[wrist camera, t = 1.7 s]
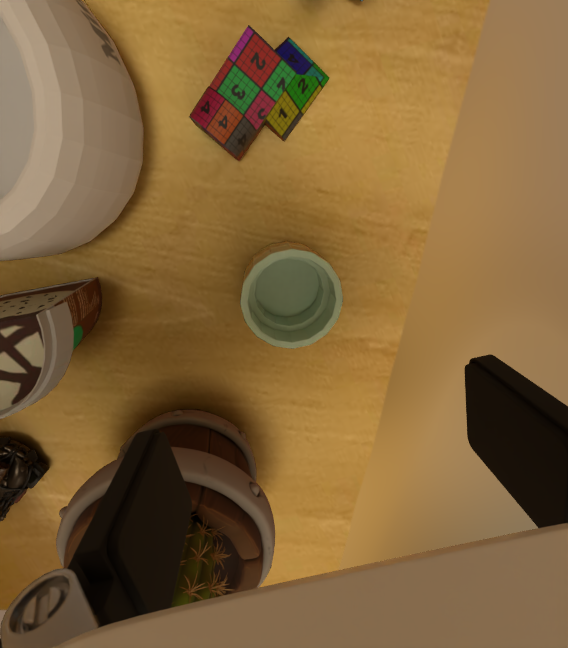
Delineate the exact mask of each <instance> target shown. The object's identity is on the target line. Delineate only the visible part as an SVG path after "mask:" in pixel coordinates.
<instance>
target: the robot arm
mask: <svg viewBox="0 0 568 648" xmlns="http://www.w3.org/2000/svg"><path fill="white" fill-rule="evenodd" d="M465 388H466V412H467V435H468V440H469V443H470V446H471V447H472V449H473V450H474V451H475V453H477V455H478V456H479V457H480V459H481V460H482V461H483V462H484V463H485V464H486V466H487V467H488V468H489V469H490V470H491V472H492V473H493V474H494V475H495V476H496V478H497V479H498V480H499V481H500V482H501V484H502V485H503V486H504V487H505V488H506V489H507V491H508V492H509V493H510V494H511V496H512V497H513V498H514V499H515V500H516V502H517V503H518V504H519V505H520V506H521V507H522V509H523V510H524V511H525V512H526V513H527V515H529V517H530V518H531V519H532V521H533V522H534V523H535V524H536V525H537V526H538V529H532V530H528V531H522V532H517V533H512V534H508V535H503V536H498V537H494V538H489V539H484V540H479V541H474V542H470V543H465V544H460V545H455V546H451V547H446V548H441V549H436V550H431V551H426V552H422V553H417V554H412V555H408V556H403V557H399V558H394V559H389V560H384V561H380V562H375V563H370V564H366V565H361V566H357V567H352V568H347V569H343V570H338V571H333V572H329V573H324V574H319V575H315V576H310V577H306V578H301V579H296V580H292V581H287V582H283V583H278V584H274V585H269V586H265V587H260V588H256V589H251V590H247V591H242V592H238V593H233V594H229V595H224V596H220V597H215V598H211V599H206V600H202V601H198V602H194V603H190V604H185V605H181V606H177V607H173V608H171V605H172V600H173V596H174V591H175V586H176V582H177V577H178V572H179V568H180V563H181V558H182V554H183V549H184V544H185V540H186V535H187V530H188V526H189V521H190V516H191V512H192V501H191V497H190V494H189V492H188V489H187V487H186V484H185V482H184V479H183V476H182V474H181V471H180V469H179V466H178V464H177V461H176V459H175V456H174V454H173V451H172V449H171V446H170V444H169V441H168V439H167V436H166V434H165V433H164V432H159V431H158V429H152V430H147V431H143V432H138V433H137V434H136V435H135V437H134V438H133V440H132V442H131V444H130V446H129V448H128V450H127V452H126V454H125V456H124V458H123V460H122V462H121V464H120V466H119V468H118V469H117V471H116V473H115V475H114V477H113V479H112V481H111V483H110V485H109V487H108V489H107V491H106V493H105V495H104V497H103V499H102V501H101V502H100V504H99V506H98V508H97V510H96V512H95V514H94V516H93V518H92V520H91V522H90V524H89V526H88V528H87V530H86V532H85V533H84V535H83V537H82V539H81V541H80V543H79V545H78V547H77V549H76V551H75V553H74V555H73V558H72V560H71V562H70V564H69V566H68V568H67V569H66V568H63V569H56V570H53V571H51V572H48V573H46V574H44V575H43V576H41V577H39V578H38V579H36V580H34V581H33V582H32V583H31V584H30V585H28V586H27V587H26V588H25V589H24V590H23V591H22V592H21V593H20V594H19V595H18V596H17V597H16V598H15V599H14V600H13V602H12V603H11V605H10V606H9V608H8V609H7V611H6V613H5V615H4V617H3V620H2V622H1V628H0V635H1V638H0V648H568V406H566V405H565V404H563V403H562V402H560V401H559V400H557V399H556V398H555V397H553V396H552V395H550V394H549V393H547V392H546V391H544V390H543V389H542V388H540V387H538V386H537V385H536V384H534V383H533V382H531V381H530V380H528V379H527V378H526V377H524V376H523V375H521V374H520V373H518V372H517V371H515V370H514V369H512V368H511V367H510V366H508V365H507V364H505V363H504V362H502V361H501V360H499V359H498V358H496V357H495V356H493V355H486V356H481V357H477V358H472V359H471V360H470V362H469V364H468V365H466V366H465Z"/></svg>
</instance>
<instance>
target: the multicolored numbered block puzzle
mask: <svg viewBox="0 0 568 648" xmlns="http://www.w3.org/2000/svg"><path fill="white" fill-rule="evenodd" d="M328 80H329V77H328V76H327V75H326V74H325V73H324V72H323V71H322V70H321V69H320V68H319V67H318V66H317V65H316V64H315V63H314V62H313V61H312V60H311V59H310V58H309V57H308V56H307V55H306V54H305V53H304V52H303V51H302V50H301V49H300V48H299V47H298V46H297V45H296V44H295V43H294V42H293V41H292V40H291V39H290V38H289V37H288V38H287V39H286V40H285V41H284V42H283V43H282V44H281V45H279V46H278V47H277V48H276V49H275V50H274V49H273V48H272V47H271V46H270V45H269V44H268V43H267V42H266V41H265V40H264V39H263V38H262V37H261V36H260V35H259V34H258V33H257V32H256V31H255V30H253V29H252V28H251V27H250V26H249V25H248V27H247V28H246V30H245V31H244V33H243V35H242V36H241V38H240V39H239V41H238V42H237V44H236V45H235V47H234V49H233V50H232V52H231V53H230V55H229V56H228V58H227V59H226V61H225V63H224V64H223V66H222V67H221V69H220V70H219V72H218V73H217V75H216V77H215V78H214V80H213V81H212V83H211V84H210V86H209V87H208V88H207V89H206V91H205V92H204V94H203V95H202V97H201V99H200V100H199V102H198V103H197V105H196V106H195V108H194V109H193V111H192V113H191V114H190V116H189V117H190V118H191V120H192V121H193V122H194V123H195V125H196V126H198V127H199V128H200V129H201V130H202V131H204V132H205V133H206V134H207V135H208V136H210V137H211V138H212V139H213V140H214V141H215V142H217V143H218V144H219V145H220V146H221V147H223V148H224V149H225V150H226V151H227V152H228V153H230V154H231V155H232V156H233V157H234V158H236V159H237V160H238V161H240V159H241V158H242V156H243V155H244V153H245V152H246V151H247V149H248V148H249V146H250V145H251V143H252V142H253V141H254V139H255V138H256V136H257V135H258V133H259V132H260V131H261V129H262V128H263V126H264V125H266V126H267V127H268V128H269V129H271V130H272V131H273V132H274V133H275V134H276V135H277V136H278V137H279V138H281V139H282V140H283V141H285V139H286V138H287V137H288V135H289V134H290V133H291V131H292V130H293V128H294V127H295V126H296V124H297V123H298V121H299V120H300V119H301V117H302V116H303V114H304V113H305V112H306V110H307V109H308V107H309V106H310V105H311V103H312V102H313V101H314V99H315V98H316V96H317V95H318V94H319V92H320V91H321V89H322V88H323V87H324V85H325V84H326V82H327V81H328Z"/></svg>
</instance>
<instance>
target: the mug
mask: <svg viewBox="0 0 568 648" xmlns="http://www.w3.org/2000/svg"><path fill="white" fill-rule="evenodd" d="M143 132H144V128H143V123H142V118H141V113H140V109H139V104H138V99H137V95H136V91H135V88H134V85H133V82H132V80H131V78H130V76H129V74H128V72H127V69H126V67H125V65H124V63H123V61H122V59H121V56H120V54H119V52H118V50H117V48H116V46H115V44H114V42H113V40H112V39H111V38H110V36H109V35H108V34H107V32H106V31H105V30H104V28H103V27H102V26H101V24H100V23H99V22H98V20H97V19H96V18H95V16H94V15H93V14H92V12H91V11H90V10H89V8H88V7H87V5H86V4H85V3H84V2H83V1H82V0H0V261H5V260H17V259H26V258H34V257H43V256H50V255H56V254H62V253H64V252H66V251H69V250H71V249H73V248H76V247H78V246H80V245H83V244H85V243H87V242H90V241H91V240H92V239H94V238H95V237H96V236H97V235H98V234H100V233H101V232H102V231H103V230H104V229H105V228H107V227H108V226H109V225H110V224H111V223H113V222H114V221H115V220H116V219H117V218H118V216H119V215H120V213H121V212H122V210H123V209H124V207H125V206H126V204H127V202H128V201H129V199H130V198H131V196H132V195H133V193H134V191H135V187H136V184H137V180H138V177H139V174H140V170H141V167H142V163H143Z"/></svg>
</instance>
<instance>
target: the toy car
mask: <svg viewBox="0 0 568 648" xmlns="http://www.w3.org/2000/svg"><path fill="white" fill-rule="evenodd" d="M9 439H10V437H6V438H0V521H3V520H4V518H6V517H5V515H6V514H7V513H8V511H9V509H10V506H11V505H13V504H14V503H17V502H19V501H20V499H21V498H22V497H23V495H24V494H25V493H26V491H27V489H28V488H33V487H34V486H35V485H36V484H37V482H38V481H39V480H40V479H41V478H42V476H43V475H44V474H45V473H46V472H47V470H48V469H49V467H48V466H47V465H45V464H43V463H41V462H35V461H36V460H37V459H38V457H37V455H36V453H35V450H34V449H33V450H32V451H31V450H29V448H28V447H26V446H25V445H23V444H22V445H20V444H21V443H19V442H16V441H14V440H12V441H11V440H9ZM17 448H18V449H17ZM27 452H28V453H27ZM14 490H15V491H14ZM13 492H14V493H13ZM11 501H12V502H11ZM9 503H10V504H9Z"/></svg>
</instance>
